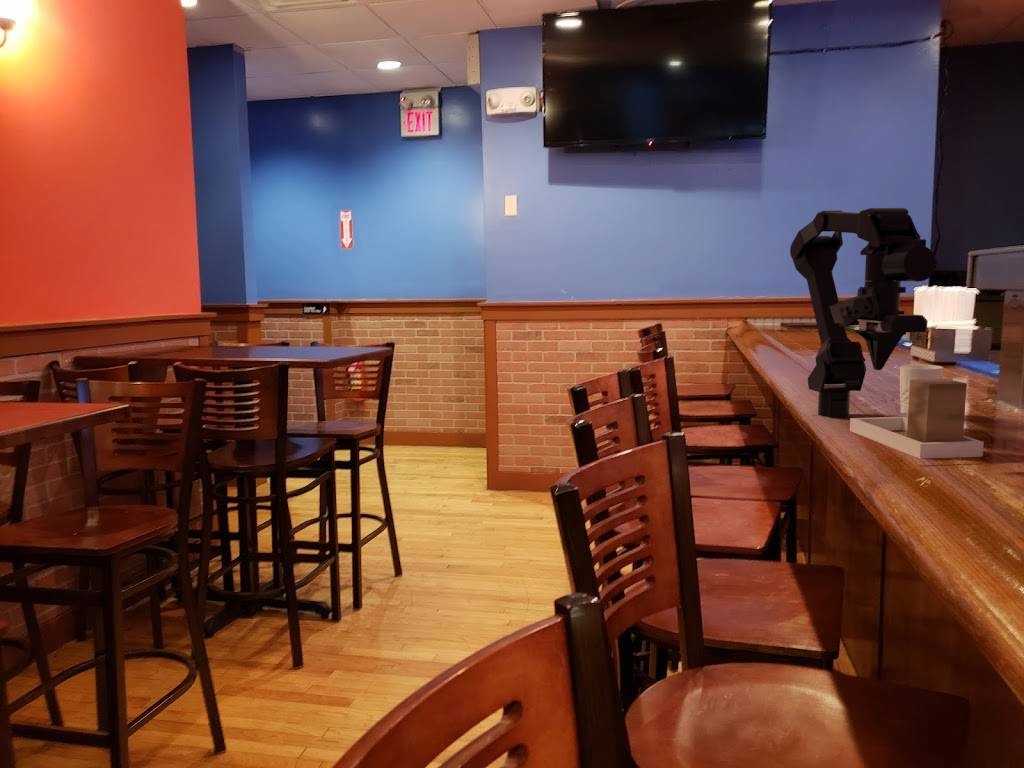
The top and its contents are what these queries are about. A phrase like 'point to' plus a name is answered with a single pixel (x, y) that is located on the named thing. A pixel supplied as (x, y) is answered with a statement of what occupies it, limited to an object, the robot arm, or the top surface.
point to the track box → (882, 433)
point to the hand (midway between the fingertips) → (877, 369)
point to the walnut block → (936, 410)
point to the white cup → (915, 373)
